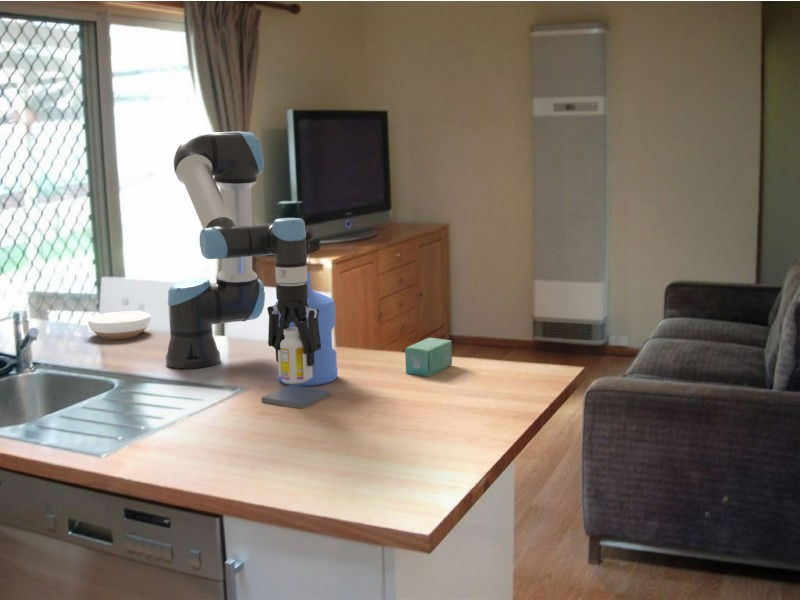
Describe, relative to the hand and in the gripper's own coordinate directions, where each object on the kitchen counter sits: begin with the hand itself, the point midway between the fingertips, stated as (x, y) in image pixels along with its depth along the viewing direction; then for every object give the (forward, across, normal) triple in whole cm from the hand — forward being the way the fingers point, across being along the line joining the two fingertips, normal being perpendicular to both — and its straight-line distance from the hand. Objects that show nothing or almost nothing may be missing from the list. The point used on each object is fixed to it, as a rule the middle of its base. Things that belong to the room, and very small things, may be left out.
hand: (295, 376), depth 220 cm
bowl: (+5, -95, +33) cm, 101 cm away
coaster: (+6, 0, 0) cm, 6 cm away
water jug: (+6, -8, +16) cm, 19 cm away
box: (+6, +16, +38) cm, 42 cm away
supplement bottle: (+1, 0, 0) cm, 1 cm away
